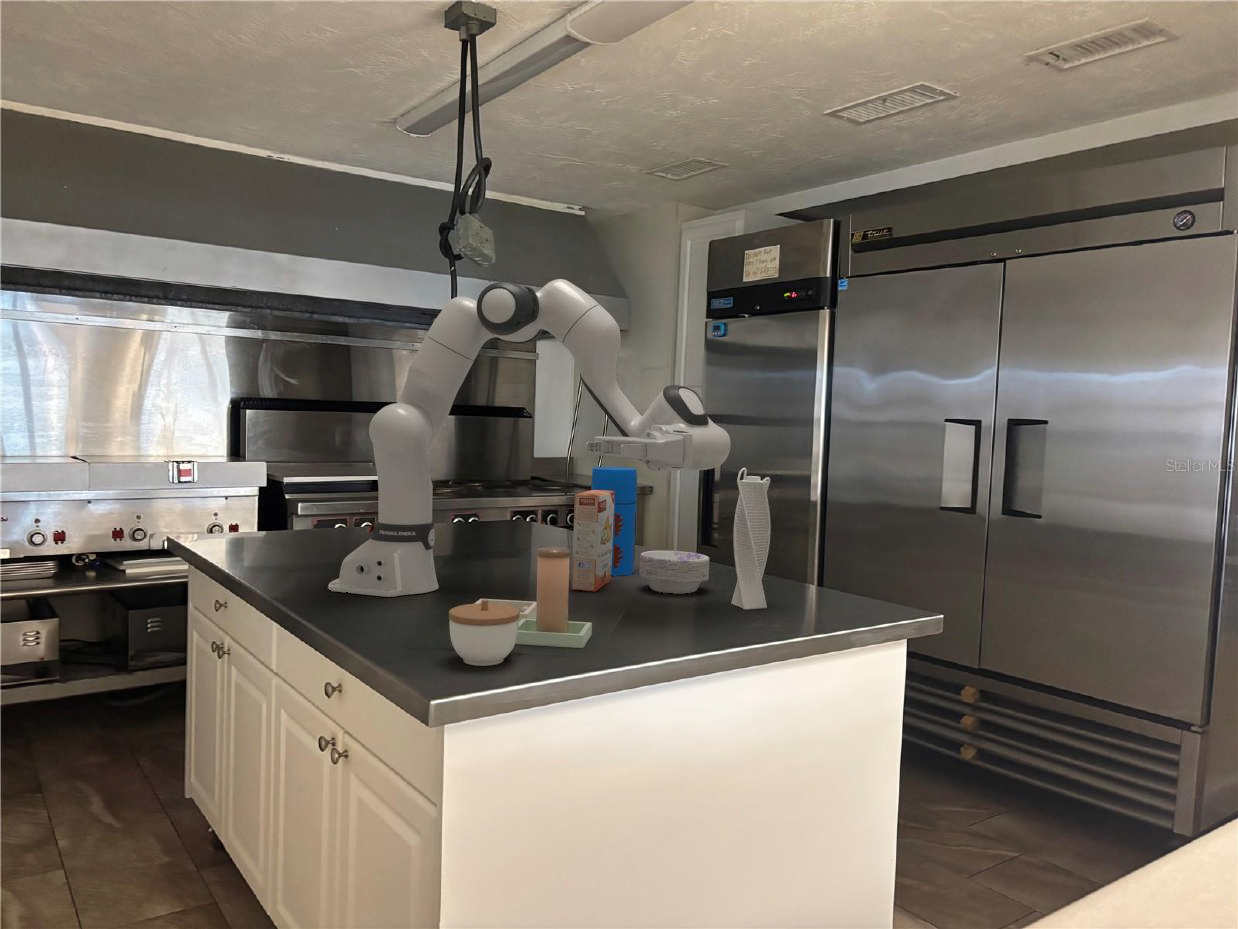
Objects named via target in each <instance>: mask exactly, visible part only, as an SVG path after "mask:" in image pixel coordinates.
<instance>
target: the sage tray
mask: <svg viewBox="0 0 1238 929" xmlns="http://www.w3.org/2000/svg"><path fill="white" fill-rule="evenodd" d="M592 628H593V622H588V621H585V622H584V621H571V620H570V621H569V620H568V631H567V633H553V632H536V619H521V620H520V621H519V627H518V635H517V639H516V643H515V645H525V646H539V647H541V646H542V647H557V648H571V649H573V648H574V649H584V648H585V646H586V644H587V643H588V641H589V639H590V638H591V636H592V633H593V629H592Z"/></svg>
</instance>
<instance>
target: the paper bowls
mask: <svg viewBox="0 0 1238 929" xmlns="http://www.w3.org/2000/svg"><path fill="white" fill-rule="evenodd" d="M709 570H710V557H709V556H707V555H705V554H702V553H697V552H690V551H681V550H649V551H644V552H641V553H640V556H639V573H638V574H639V576H640V577H643V578H645V579H646V581H647V583H648V586H649V588H650V589H651V590H652V591H655V592H657V593H661V592H663V593H662V594H667V593H673V594H672V595H686V594H685V593H688V594H692V592H693V593H695V592H697V590H698V588H699V587H700V585H701V583H702V582H706V581H708V580H709V578H710V577H709V575H710V571H709Z"/></svg>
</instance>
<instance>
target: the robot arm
mask: <svg viewBox="0 0 1238 929" xmlns="http://www.w3.org/2000/svg"><path fill="white" fill-rule="evenodd" d="M543 330H544V331H547V332H548V333H550V334H551V335H552V336H553V337H554V338H555V339H556V340H557V341H559V343H561V344H562V345H563V347H565V348H566V349H567V350H568V352H569V353H570V355H571V356H572V358H573V360H574V361H575V363H576V365H577V367H578V370H579V378H580V380H581V382H582V384H583V386H584V388H585V389H586V390H587V392H588V393H589V395H590V396H591V397H592V399H593V400H594V402H596V404H597V405H598V406H599V408H600V409H601V411H602V412H603V413H604V414H605V415H606V417H607V418H608V419H609V421H610V422H611V423H612V424H613V426H614V427H615V428H616V429H617V431H618V432H619V433H620V434H621V436H607V435H606V436H601V435H600V436H595V437H594V438H593V441H587V442H586V443H585V451H586V452H588V453H593V455H594V456H598V457H599V456H600V457H601V456H602V457H609V458H610V457H611V458H622V459H632V460H639V461H641V463H643V464H644V465H645V467H646V468H647V469H648V470H650V471H651V472H677V471H680V470H685V471H691V472H692V471H693V472H694V471H706V470H710V469H715V468H717V467H720V466H722V465H723V463H724V462H725V461H726V459H728V456H729V454H730V451H731V445H732V444H731V442H732V441H731V437H730V435H729V433H728V432H727V431H726V430H725V429H724V428H722V427H720V426H719V425H718V424H716V423H715V422H713V421H712V420H711V418H709V416H708V414H707V411H706V407H705V404H704V402H703V400H702V398H701V396H700V395H699V394H698V393H697V392H696V391H695V390H693V389H692V388H689V387H687V386H684V385H678V384H671V385H667V386H665V387H664V388H663V389H662V390H661V391H660V393H659V394H658V395H657V396H656V398H655V399H654V400H653V401H652V402H651V404H650V406H649V407H648V408H647V409H646V411H645V412H644V413H643V415H641V414H640V412H638V410H637V409H636V408H635V406H634V405H633V404H632V403H631V401H630V400H629V399H628V398H627V396H626V395H625V394H624V393H623V392H622V390H621V388H620V387H619V384H618V382H617V377H616V375H617V374H616V373H617V372H616V371H617V363H618V358H619V354H620V350H621V344H622V343H621V342H622V341H621V340H622V338H621V331H620V330H621V329H620V326H619V324H618V323H617V321H616V320H615V319H614V317H613V316H612V315H611V314H610V313H609V312H608V311H607V309H605V308H604V307H603V306H602V305H601V304H600V303H598V302H597V301H596V300H595V299H594V298H593V297H591V296H590V295H589V293H587V292H585V291H584V290H583V289H582V288H579V287H578V286H577V285H575V284H574V283H572V282H571V281H570V280H569V281H568V280H567V279H563V278H557V279H553V280H551V281H549V282H547V283H546V284H545V285H544V286H543V287H542V288H541V289H540V290H538V291H535V289H534V288H533V287H530V286H527V285H523V284H517V283H514V282H509V281H498V282H493V283H490V284H489V285H488V286H486V287H484V289H483V290H482V291H481V292H480V294H479V296H478V298H477V300H476V299H474V298H471V297H468V296H456V297H454V298H452V299H450V300H449V301H448V302H447V303H446V305H445V306H444V307H443V308H442V310H441V311H440V313H439V314H438V315H437V316H436V318H435V319H434V320H433V323H432V324H431V326H430V328H429V329H428V330H427V333H426V335H425V336H424V339H423V341H422V342H421V344H420V346H419V348H418V350H417V351H416V354H415V355H414V358H413V359H412V361H411V363H410V364H409V366H408V370H407V376H406V378H405V379H406V380H405V383H404V385H403V388H402V392H401V394H400V396H399V399H398V401H397V402H395V403H390V404H388V405H386V406H384V407H382V408H381V409H380V410H378V411H377V412H376V413H375V415H373V417H372V419H371V421H370V423H369V427H368V433H369V439H370V441H371V443H372V448H373V456H374V463H375V469H376V475H377V485H378V486H377V487H378V497H377V498H378V503H377V504H378V505H377V506H378V510H377V512H378V520H377V521H374V523H372V524H371V525H369V526H367V527H366V533H369V539H368V540H367V541H366V540H365V542H364V543H362V544H361V545H360V546H359V547H357V548H355V550H353V551H352V552H350V553H348V555H347V556H346V557H345V558H343V561H342V562H341V566H340V570H339V577H338V578H336V579H333V580H332V581H330V582H329V584H328V585H327V590H328V589H329V590H331V591H330V592H338V593H339V592H340V593H346V592H348V593H347V594H349V593H350V594H357V595H367V596H378V597H385V598H386V597H388V598H391V597H398V596H405V595H417V594H425V593H429V592H434V591H436V590H438V589H439V587H440V586H439V583H438V579H437V574H436V569H435V560H434V553H433V552H434V550H433V549H434V545H435V536H436V535H435V523H434V521H433V487H434V484H433V482H432V478H431V472H430V468H429V467H430V466H429V458H428V457H429V456H428V451H430V450H431V449H432V448H433V447H434V446H435V445H436V443H437V442H438V440H439V439H440V435H441V433H442V430H443V428H444V426H445V424H446V421H447V419H448V417H449V414H450V412H451V409H452V407H453V404H454V401H455V398H456V396H457V394H458V392H459V390H460V388H461V387H462V384H464V383H463V382H464V381H465V379H466V377H467V375H468V373H469V371H470V370H471V367H472V366H473V364H474V361H475V359H476V358H477V356H478V355H479V352H480V350H481V348H482V347H483V345H484V344H485V343H486V342H487V341H489V340H491V339H493V340H496V341H500V342H501V341H502V342H505V343H506V342H507V343H511V344H521V345H522V344H527V343H530V342H533V341H534V340H536V339H537V338H538V337H539V336H540V335H541V333H542V332H543ZM329 590H328V591H329Z"/></svg>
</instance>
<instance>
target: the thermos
mask: <svg viewBox="0 0 1238 929" xmlns="http://www.w3.org/2000/svg"><path fill="white" fill-rule="evenodd" d="M637 472H638V471H637V468H632V467H619V466H617V467H615V466H614V467H613V466H608V467H607V466H600V467H599V466H598V467H595V466H594V467H593V468H592V472H591V490H607V491H614V492H615V498H614V520H613V543H612V565H611V575H613V576H612V577H621V576H620V575H627V576H631V575H633V574H634V569H635V558H636V557H635V556H636V555H635V554H636V552H635V551H636V528H637V527H636V526H637V525H636V524H637V519H636V518H637V496H638V495H637V494H638V492H637V490H638V473H637ZM632 573H633V574H632ZM617 575H619V576H617Z"/></svg>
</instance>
